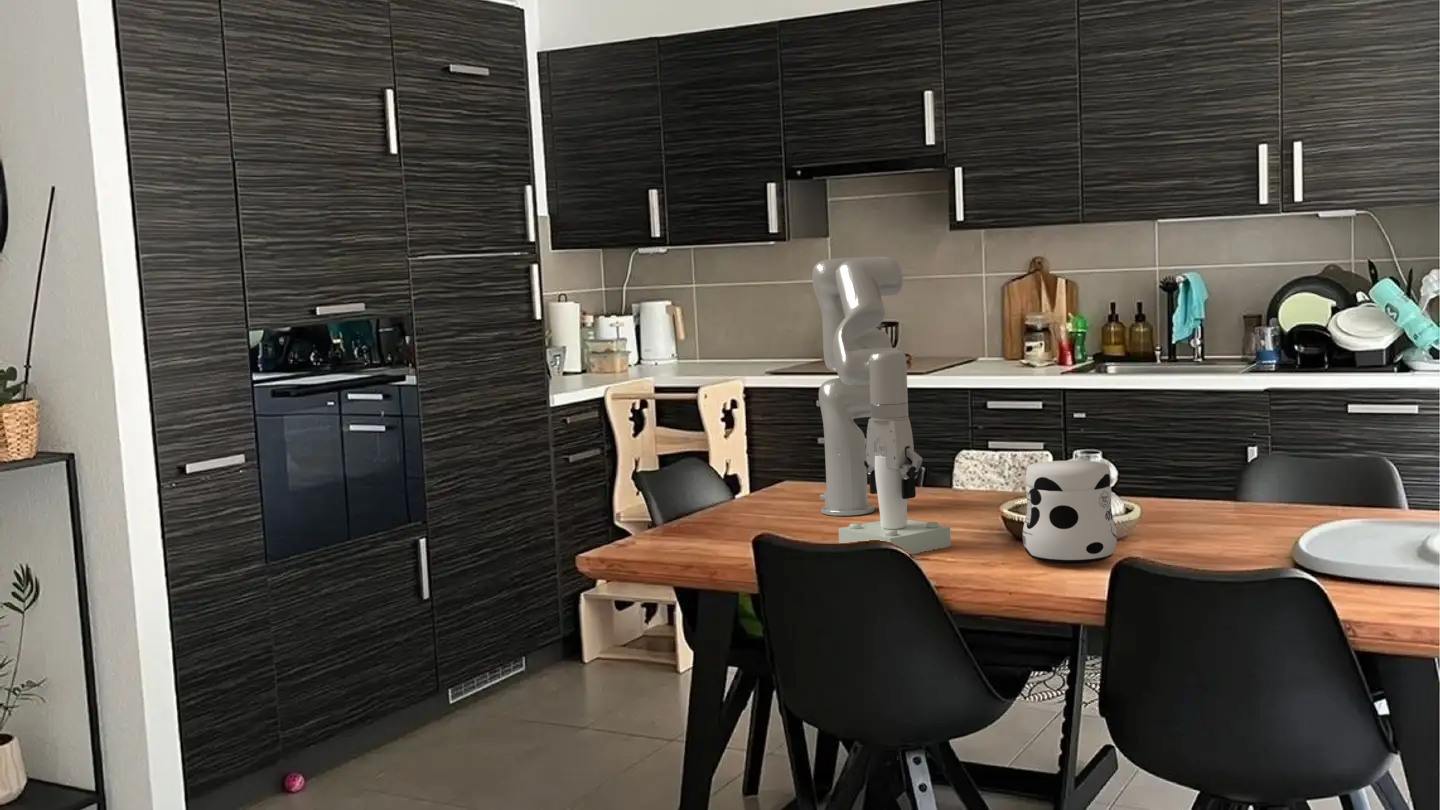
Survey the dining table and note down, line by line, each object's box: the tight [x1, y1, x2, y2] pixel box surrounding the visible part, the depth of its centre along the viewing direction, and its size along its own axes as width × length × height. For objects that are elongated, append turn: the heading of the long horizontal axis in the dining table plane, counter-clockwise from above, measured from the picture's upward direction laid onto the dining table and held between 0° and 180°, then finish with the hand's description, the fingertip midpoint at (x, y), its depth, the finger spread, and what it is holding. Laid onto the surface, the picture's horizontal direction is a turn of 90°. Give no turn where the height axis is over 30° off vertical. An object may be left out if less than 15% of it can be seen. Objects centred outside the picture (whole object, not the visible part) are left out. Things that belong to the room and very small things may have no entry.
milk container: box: [1022, 460, 1118, 565], centre depth 262 cm, size 17×17×18 cm
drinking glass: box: [875, 456, 908, 529], centre depth 282 cm, size 7×7×15 cm
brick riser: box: [838, 519, 952, 555], centre depth 282 cm, size 16×16×5 cm
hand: (892, 495), depth 282 cm, fingers open, 9 cm apart
